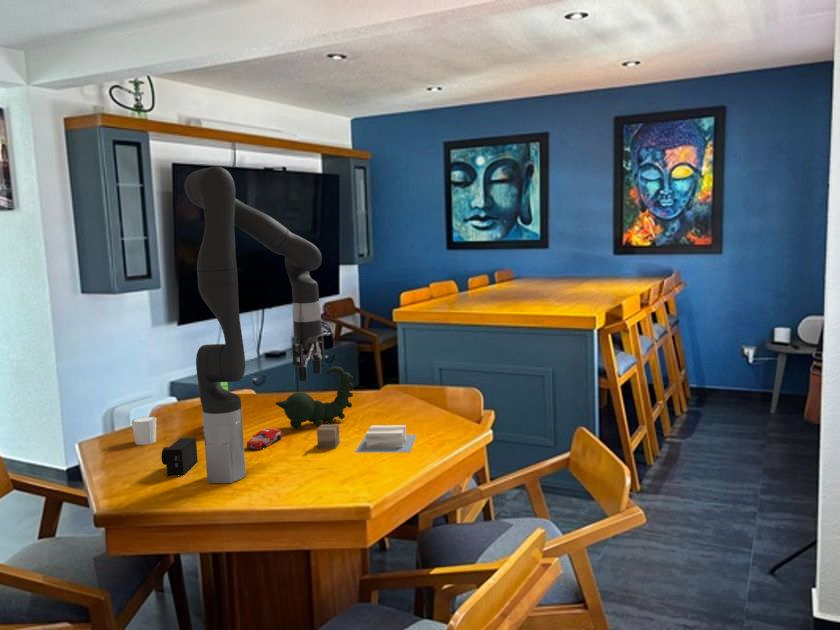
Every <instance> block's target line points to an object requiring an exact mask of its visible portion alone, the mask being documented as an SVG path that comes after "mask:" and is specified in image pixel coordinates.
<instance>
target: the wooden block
mask: <svg viewBox="0 0 840 630" xmlns="http://www.w3.org/2000/svg"><path fill="white" fill-rule="evenodd" d="M406 435H407V424H404V425H403V424H399V425H398V424H395V425H392V424H390V425H389V424H387V425H386V424H385V425H383V424H382V425H381V424H380V425H370V427H369V428H368V430H367V431H366V432H365V436H366V447H367V448H403V446H404V444H405V441H406V439H407V438H406Z"/></svg>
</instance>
